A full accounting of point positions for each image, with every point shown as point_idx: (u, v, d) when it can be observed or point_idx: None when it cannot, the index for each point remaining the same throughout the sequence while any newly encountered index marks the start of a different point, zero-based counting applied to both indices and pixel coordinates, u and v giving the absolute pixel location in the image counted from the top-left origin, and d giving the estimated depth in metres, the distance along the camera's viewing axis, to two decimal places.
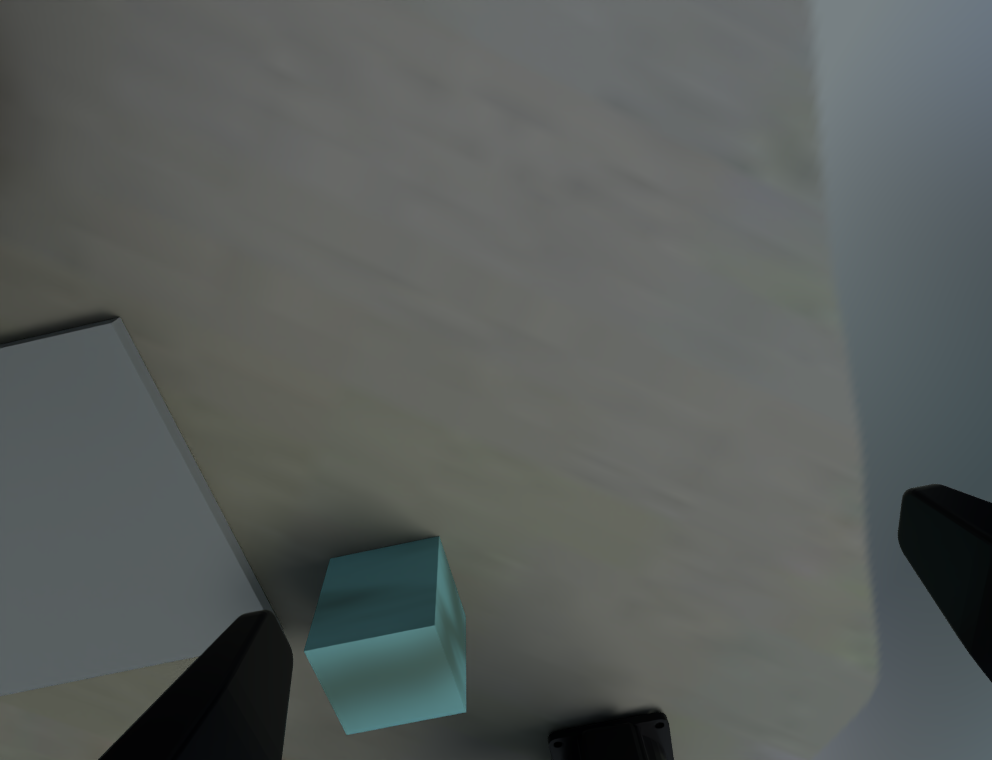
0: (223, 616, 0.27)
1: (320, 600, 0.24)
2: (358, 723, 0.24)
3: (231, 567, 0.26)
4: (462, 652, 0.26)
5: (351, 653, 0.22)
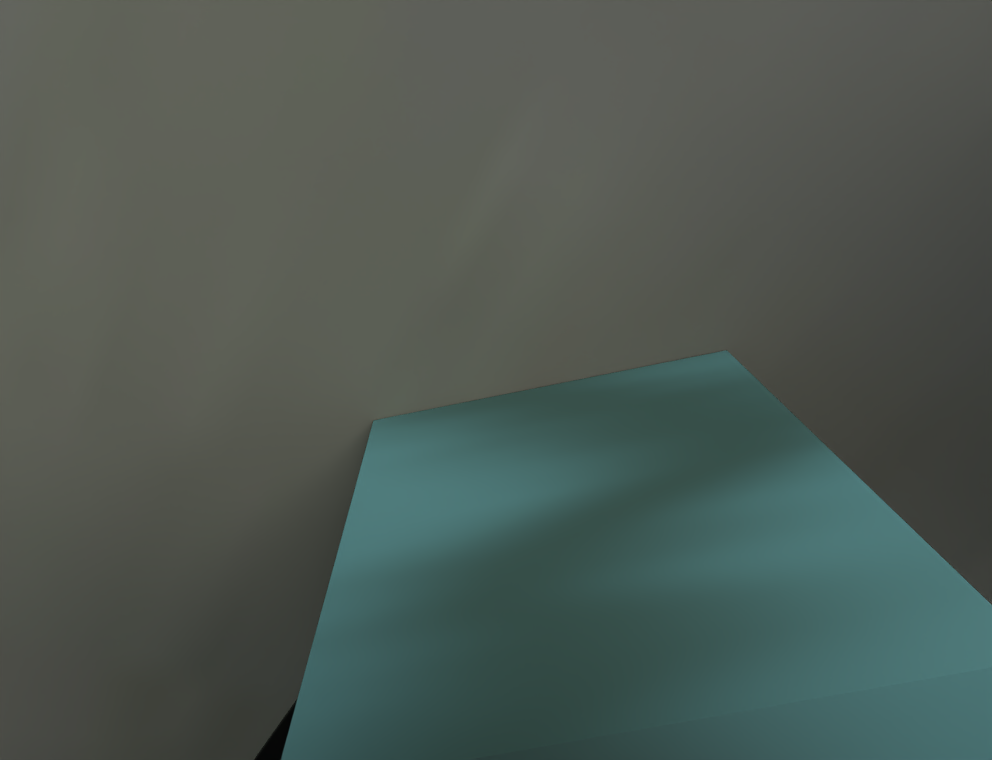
0: None
1: None
2: None
3: None
4: (770, 467, 0.06)
5: None
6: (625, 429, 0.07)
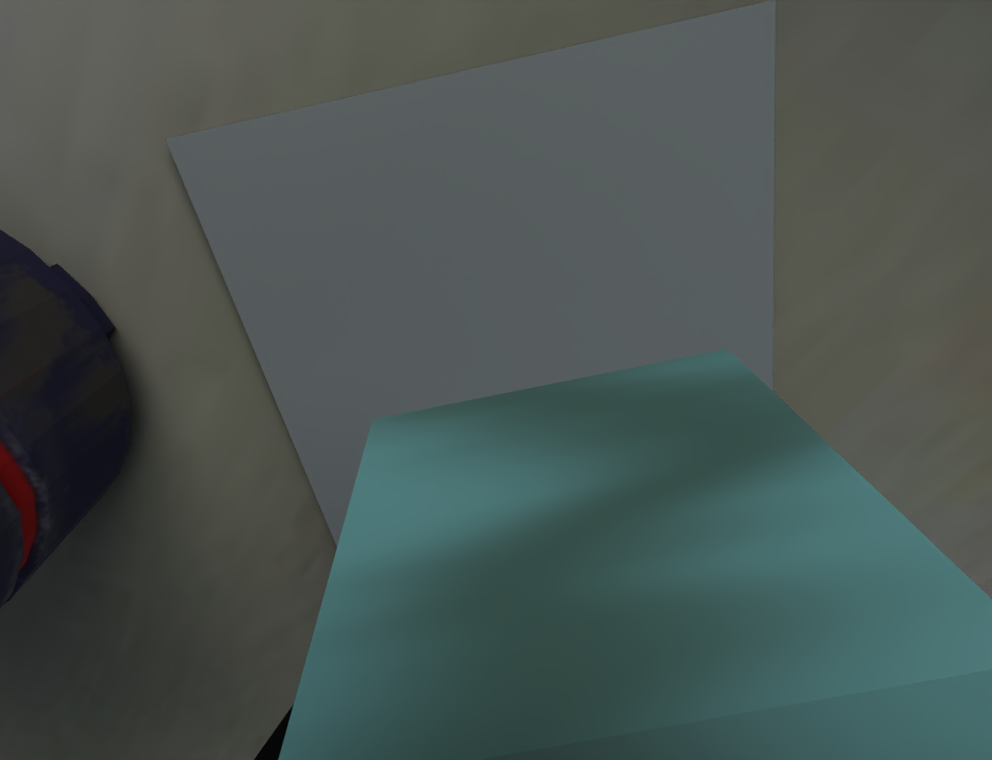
0: (697, 98, 0.16)
1: None
2: None
3: (594, 59, 0.15)
4: (772, 465, 0.06)
5: None
6: (626, 428, 0.07)
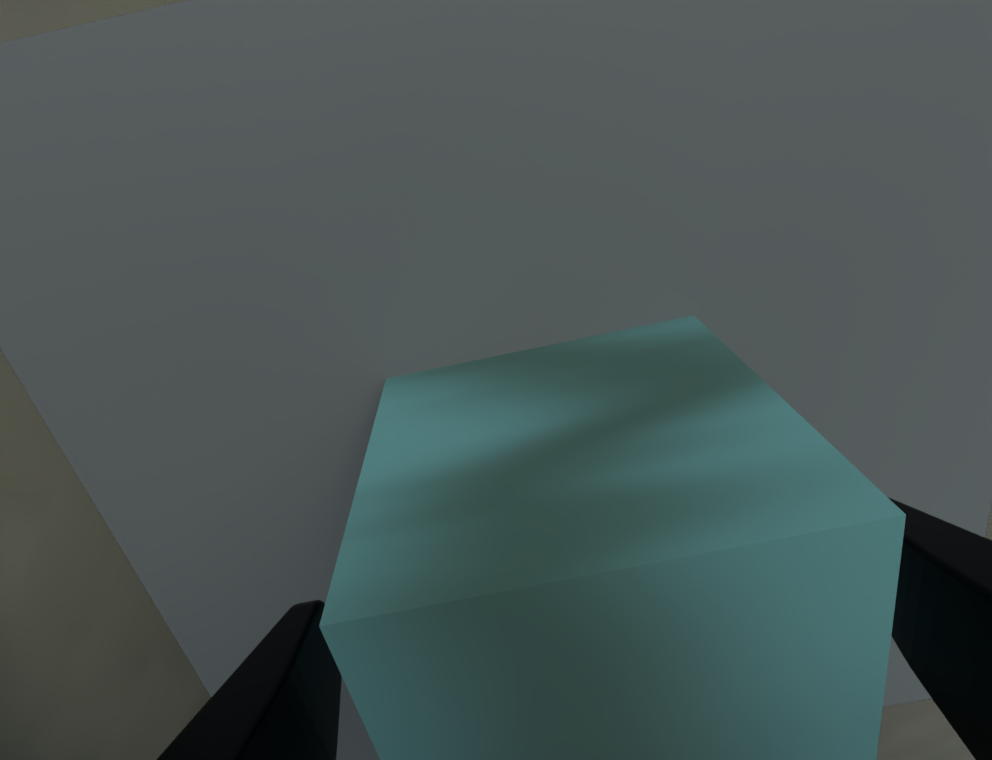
0: (940, 7, 0.08)
1: None
2: None
3: None
4: (719, 400, 0.07)
5: None
6: (602, 377, 0.08)
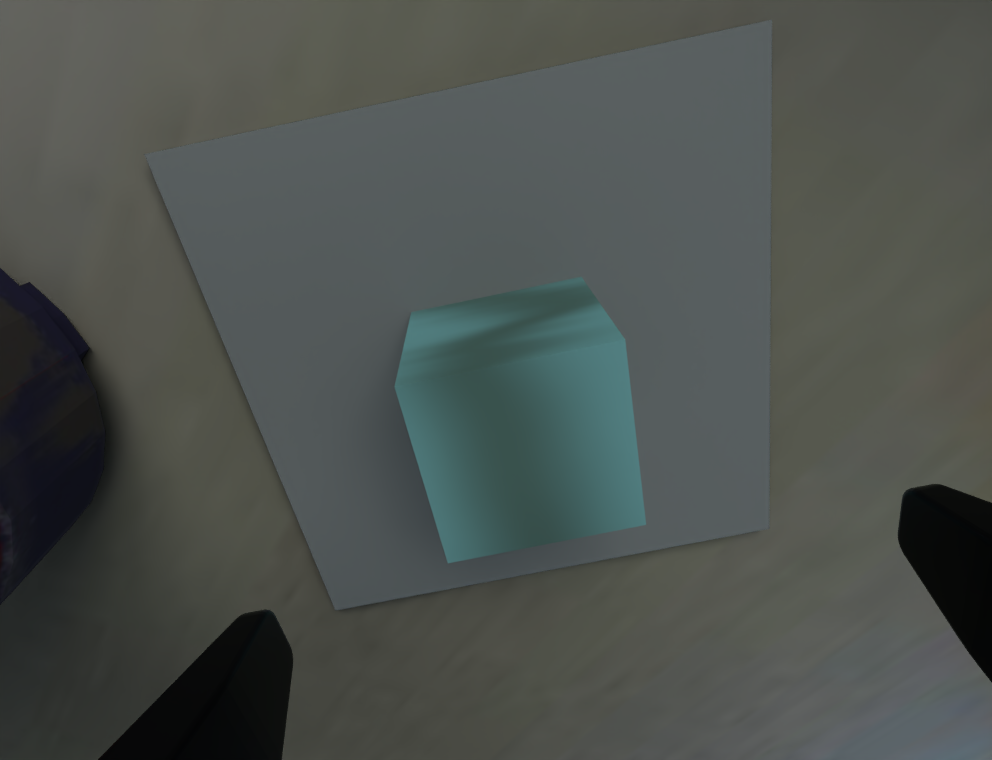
0: (693, 118, 0.16)
1: None
2: (621, 508, 0.14)
3: (588, 78, 0.15)
4: (575, 310, 0.15)
5: (456, 506, 0.14)
6: (525, 305, 0.16)
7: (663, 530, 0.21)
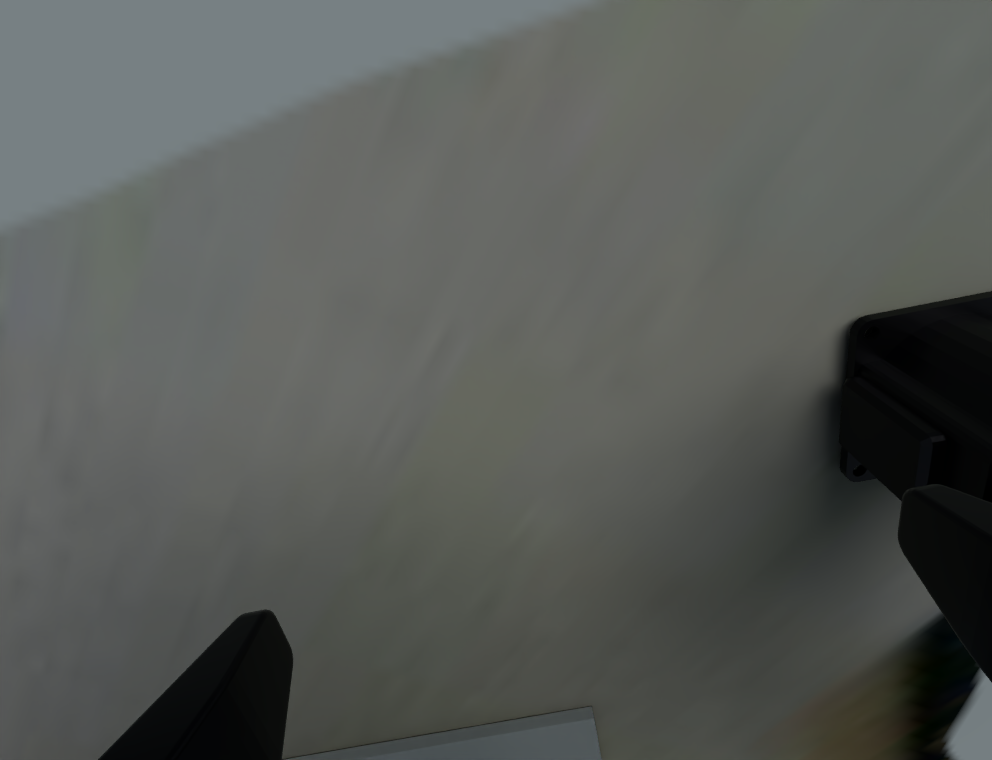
0: (555, 750, 0.28)
1: None
2: None
3: (496, 741, 0.28)
4: None
5: None
6: None
7: None
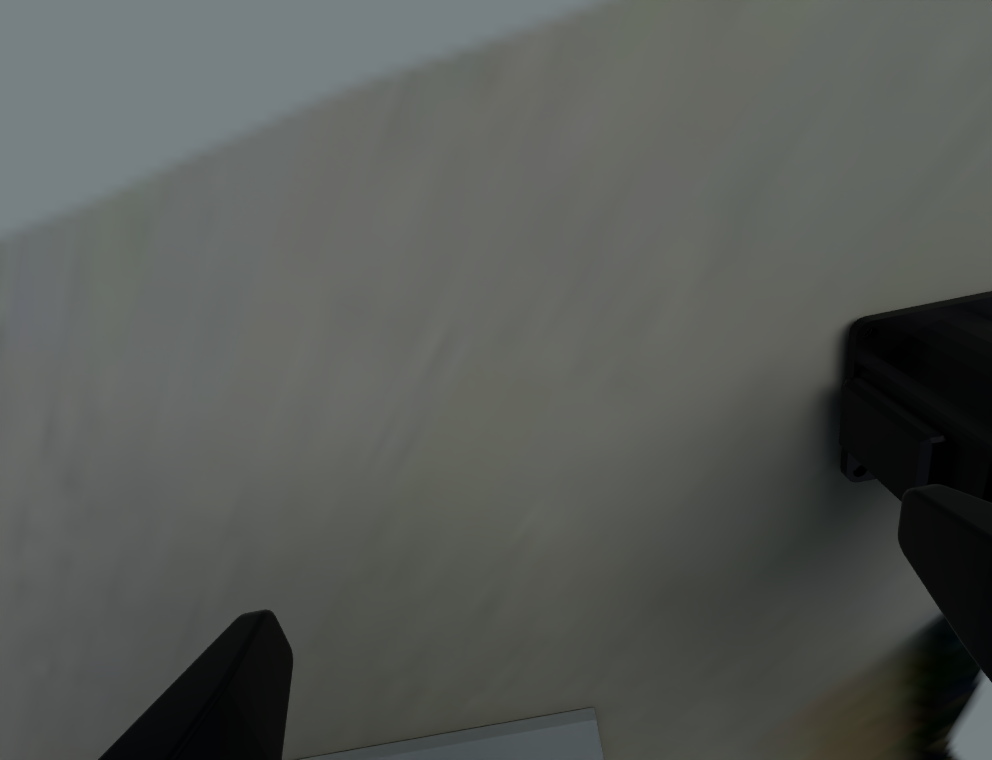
0: (558, 751, 0.28)
1: None
2: None
3: (498, 742, 0.28)
4: None
5: None
6: None
7: None
